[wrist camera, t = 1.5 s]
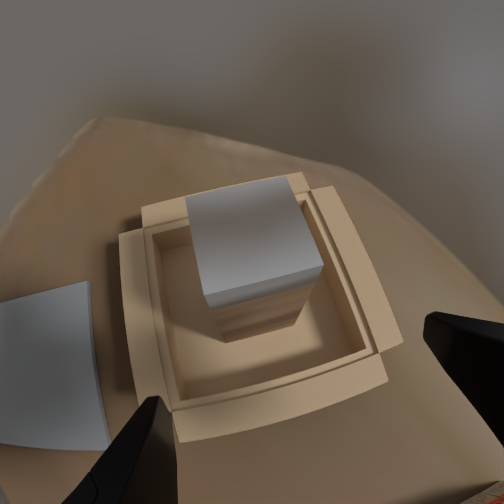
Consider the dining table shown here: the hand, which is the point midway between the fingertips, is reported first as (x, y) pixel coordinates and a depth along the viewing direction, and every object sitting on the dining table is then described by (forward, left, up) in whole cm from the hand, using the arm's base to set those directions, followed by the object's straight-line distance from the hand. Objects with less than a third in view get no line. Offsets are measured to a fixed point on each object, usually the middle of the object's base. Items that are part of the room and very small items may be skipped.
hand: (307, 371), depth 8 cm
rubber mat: (+4, +20, -12) cm, 24 cm away
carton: (+6, 0, -12) cm, 14 cm away
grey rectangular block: (+6, 0, -12) cm, 13 cm away
